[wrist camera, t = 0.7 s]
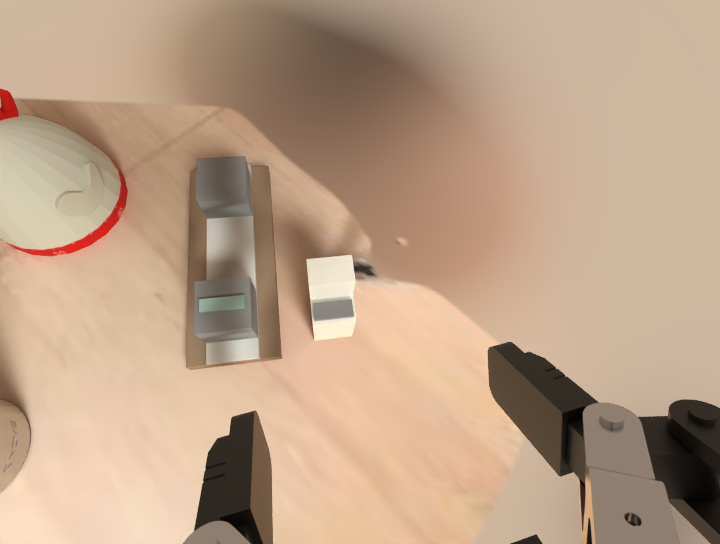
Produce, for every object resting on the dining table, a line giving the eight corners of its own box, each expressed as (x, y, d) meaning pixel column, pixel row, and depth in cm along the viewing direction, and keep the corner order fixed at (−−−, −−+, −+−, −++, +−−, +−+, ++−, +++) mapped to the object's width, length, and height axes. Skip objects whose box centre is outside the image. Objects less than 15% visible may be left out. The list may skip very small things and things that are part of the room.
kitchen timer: (-33, 231, 43) (-199, 136, 30) (46, 138, 49) (-64, 21, 35) (83, 273, 43) (-32, 196, 29) (150, 174, 48) (80, 69, 34)
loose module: (314, 340, 42) (311, 314, 33) (310, 295, 44) (306, 259, 35) (351, 336, 43) (359, 308, 33) (346, 292, 44) (351, 255, 35)
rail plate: (190, 369, 40) (168, 358, 34) (194, 178, 48) (176, 143, 42) (281, 358, 41) (274, 346, 35) (269, 173, 49) (262, 138, 44)
